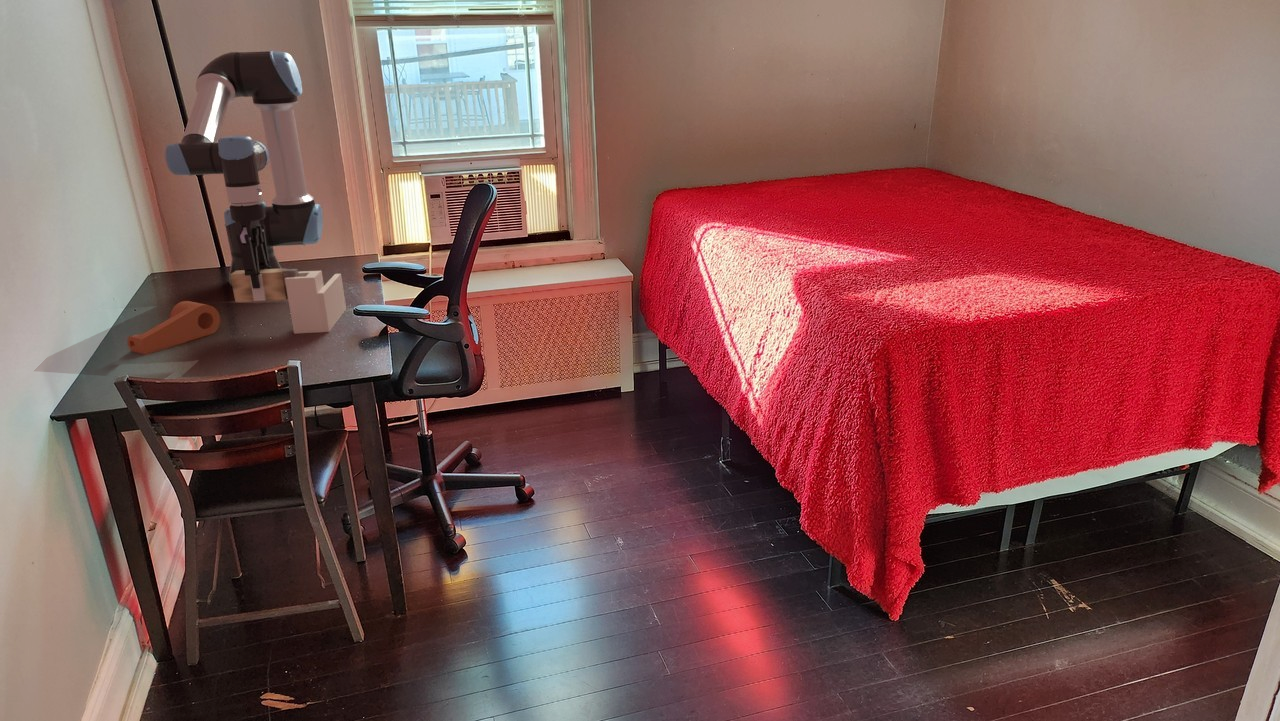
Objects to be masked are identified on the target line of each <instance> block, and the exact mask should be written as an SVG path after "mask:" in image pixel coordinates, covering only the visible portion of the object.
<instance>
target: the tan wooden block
mask: <svg viewBox="0 0 1280 721" xmlns="http://www.w3.org/2000/svg"><path fill="white" fill-rule="evenodd" d="M298 272H299V271H298V268H283V267H281V269H260V274H262V278H263V284H264V290H265V295H266V300H265V301H264V302H266V301H267V302H268V301H269V302H270V301H271V302H272V301H286V300H288V295H287V289H286V283H285V278H286V277H299V275H298ZM229 274H230V273H229ZM230 277H231V282H232V286H231V287H232V291H233V297H234V300H235V303H247V302H255V301H254V299H253V293H252V288H251V282H250V277H249V276H245V271H244V270H238V271H234V272H233V273H232V274H230Z"/></svg>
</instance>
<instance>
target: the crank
mask: <svg viewBox="0 0 1280 721" xmlns="http://www.w3.org/2000/svg"><path fill="white" fill-rule="evenodd" d="M220 325H221V316H220V312H219V311H218V310H217V309H216V308H215V307H214V306H212V305H210V304H205V303H200V302H194V301H191V300H183V301H180V302H178V303H177V304H175V305H174V306H173V308H172V309H171V312H170V317H169V318H168V319H167V320H165V321H163V322H161V323H159V324H158V325H156V326H154V327H153V328H151V329H149V330H147V331H146V332H144V333H142V334H139V333H138V334H134V335H130V336H128V337H127V339H126V343H127V346H128V348H129V350H130V351H131V352H134V353H139V354H141V355H148V354H149V355H150V354H153V353H154V352H159V351H162V350H165V349H168V348H171V347H174V346H178V345H180V344H184V343H187V342H190V341H194V340H197V339H200V338H203V337H205V336H207V337H208V336H209V335H213V334H215V333H216V332H217V330H218V328H219V327H220Z"/></svg>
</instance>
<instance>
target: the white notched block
mask: <svg viewBox="0 0 1280 721" xmlns="http://www.w3.org/2000/svg"><path fill="white" fill-rule="evenodd" d="M298 275H299V277H286V278H285V283H286V289H287V295H288V299H287V300H288V305H289V311H290V318H291V324H292V329H293V334H294V335H295V334H309V333H310V334H313V333H330V332H331V330H332V329H333V328H334V326H336V324H337V322H338V321H339V320H340V319H341V317H342V316H343V315H344V313H345V312H346V311H347V305H346V298H345V292H344V285H343V284H344V283H343V278H342V273H334V275H332V277H331V278H330V279H329V280H328V281H327V282H326V283H325V284H324V277H323V271H322V270H307V271H306V270H303V271H298ZM345 310H346V311H345ZM344 311H345V312H344ZM342 314H343V315H342Z"/></svg>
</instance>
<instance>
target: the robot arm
mask: <svg viewBox="0 0 1280 721" xmlns="http://www.w3.org/2000/svg"><path fill="white" fill-rule="evenodd" d="M301 78H302V77H301V75H300V72H299V69H298V66H297V63H296V62H295V60H294V58H293V56H292V55H291V54H290V53H288V52H286V51H275V50H267V51H266V50H265V51H241V52H239V51H231V52H227V53H223V54H222V55H219V56H217V57H215V58H213V60H211V61H210V62H209V63H207V65H205V66H204V67H203V69H201V71H200V73H199V74H198V76H197V79H196V82H195V92H196V95H195V96H196V97H195V99H194V102H193V105H192V108H191V111H190V115H189V118H188V120H187V124H186V127H185V130H184V133H183V135H182V139H181V141H180V143H179V142H175V143H169V144H168V145H166V147H165V151H164V153H165V154H164V157H165V162H166V166H167V167H168V170H169V171H170V173H171V174H173V175H176V176H189V177H190V176H191V177H192V176H201V175H202V176H203V175H223V179H224V184H225V186H224V187H225V192H226V199H227V202H228V203H229V204H230V205H229V207H228V208H227V209H225V211H224V213H223V217H224V227H225V230H226V235H227V240H228V246H229V251H230V256H231V263H230V269H229V275H228V280H229V285H230V286H231V287H232V282H231V277H230V274H232V273H233V272H234V271H238V270H244V271H245V276H249V277H250V282H251V288H252V293H253V299H254V301H253V302H266V301H265V300H266V295H265V290H264V284H263V278H262V274H260V269H281V268H282V265H281V264H280V263H279V260H278V259H277V257H276V255H275V251H274V247H284V246H306V245H314V244H317V243H319V242H320V240H321V239H322V234H323V227H324V217H323V216H324V215H323V214H324V213H323V209H322V205H321V204H319V203H315V198H314V196H312V194H310V193H308V189H307V188H308V187H307V182H306V175H305V171H304V163H303V158H302V154H301V153H302V152H301V147H300V141H299V134H298V128H297V123H296V117H295V111H294V110H295V109H294V108H295V107H296V105H297V104H298V103H299V100H298V99H299V98H298V97H300V96H301V95H302V94H303V86H302V85H303V83H302V79H301ZM244 97H246V98H249V97H251V98H252V101H253V102H252V103H253V105H254V106H255V107H257V108H258V109H259V110H260V114H261V119H262V125H263V131H264V136H265V142H266V146H265V144H263V143H262V142H260V141H258V140H255V139H252V137H251V136H248V135H228V136H221V137H220V134H221V130H222V126H223V124H224V119H225V117H226V114H227V110H228V106H229V105H230V104H232V103H233V101H234V100H235V98H236V99H237V98H244ZM268 163H270V168H271V175H272V180H273V186H274V191H275V192H274V193H275V196H274V198H272V200H271V206H267V203H266V202H265V201H262V200H263V194H262V193H263V192H264V189H263V188H262V187H261V182H260V176H259V172H260V171H262V170H264V168H265V167H266V166H267V165H268Z"/></svg>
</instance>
